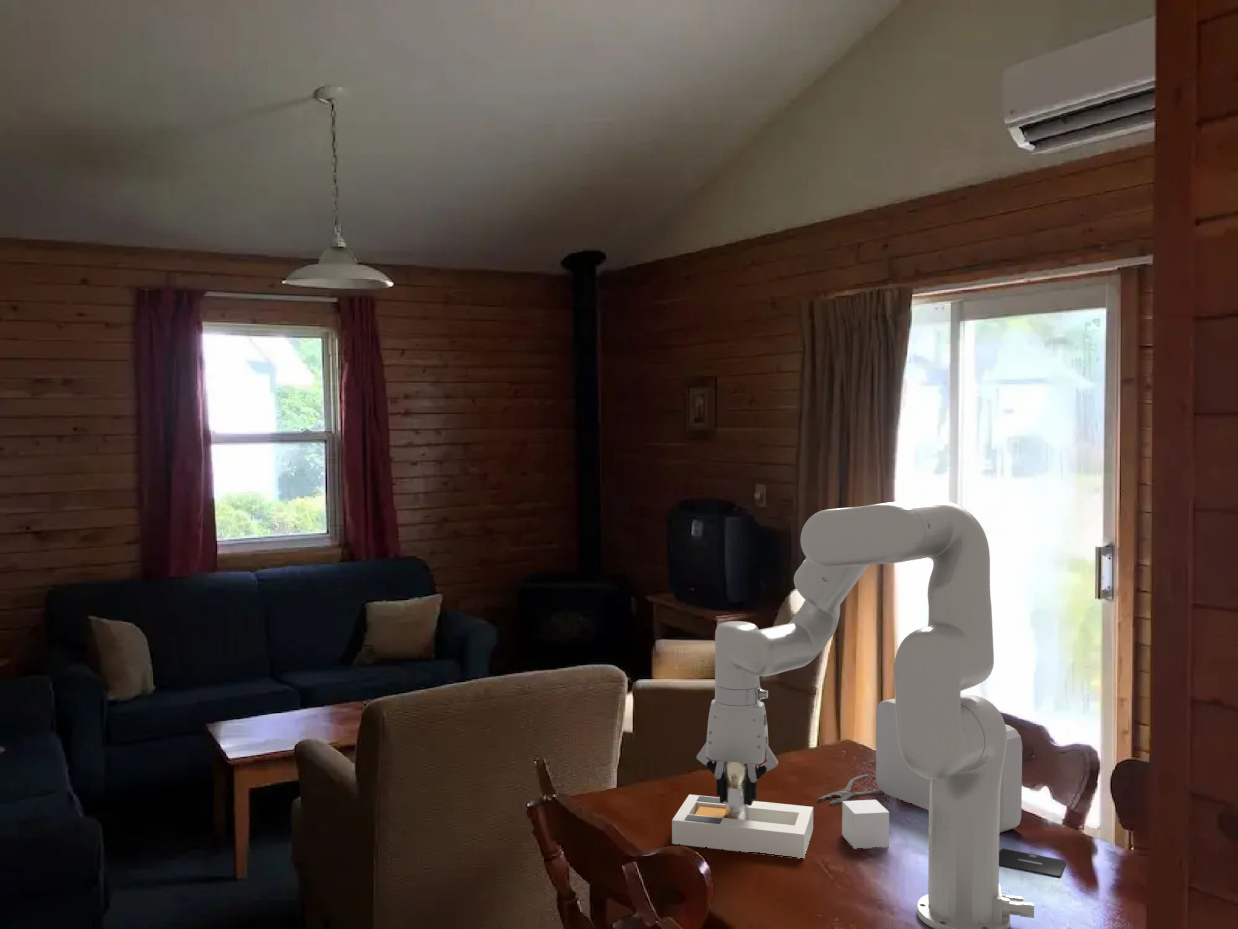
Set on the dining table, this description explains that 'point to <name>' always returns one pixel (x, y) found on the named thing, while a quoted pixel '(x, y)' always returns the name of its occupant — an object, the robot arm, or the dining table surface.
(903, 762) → the rounded white slab
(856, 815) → the white cube
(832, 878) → the dining table surface
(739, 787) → the silver metal cylinder
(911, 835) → the dining table surface
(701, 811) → the switch tab
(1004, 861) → the solid state drive
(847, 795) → the pliers
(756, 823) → the switch box
